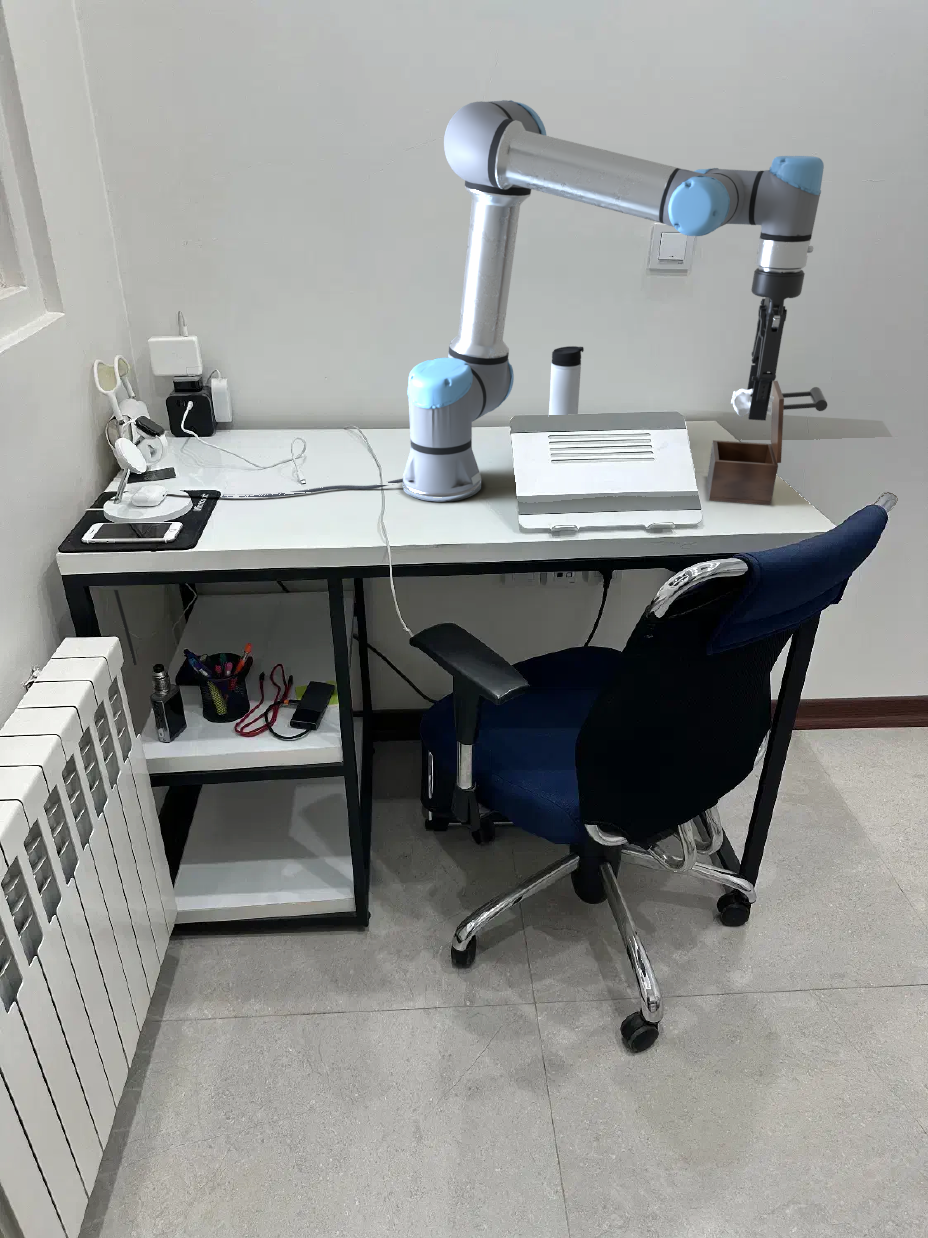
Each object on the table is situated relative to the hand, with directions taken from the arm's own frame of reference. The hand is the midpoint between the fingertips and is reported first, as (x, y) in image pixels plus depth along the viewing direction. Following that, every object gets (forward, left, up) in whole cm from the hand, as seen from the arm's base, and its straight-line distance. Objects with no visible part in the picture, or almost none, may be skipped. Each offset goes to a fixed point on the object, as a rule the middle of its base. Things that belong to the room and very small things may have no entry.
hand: (755, 410), depth 146 cm
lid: (+5, +11, -5) cm, 13 cm away
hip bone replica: (-1, 0, -1) cm, 1 cm away
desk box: (+1, +11, -19) cm, 22 cm away
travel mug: (-35, +34, -19) cm, 53 cm away
